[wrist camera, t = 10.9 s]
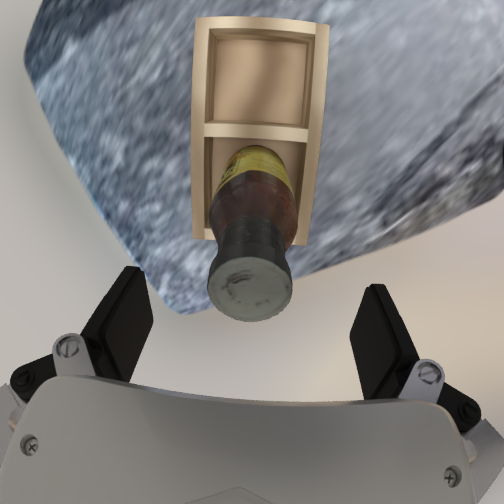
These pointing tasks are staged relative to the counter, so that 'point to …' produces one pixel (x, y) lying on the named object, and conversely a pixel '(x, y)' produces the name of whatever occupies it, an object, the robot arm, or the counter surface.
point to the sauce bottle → (252, 236)
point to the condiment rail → (257, 104)
